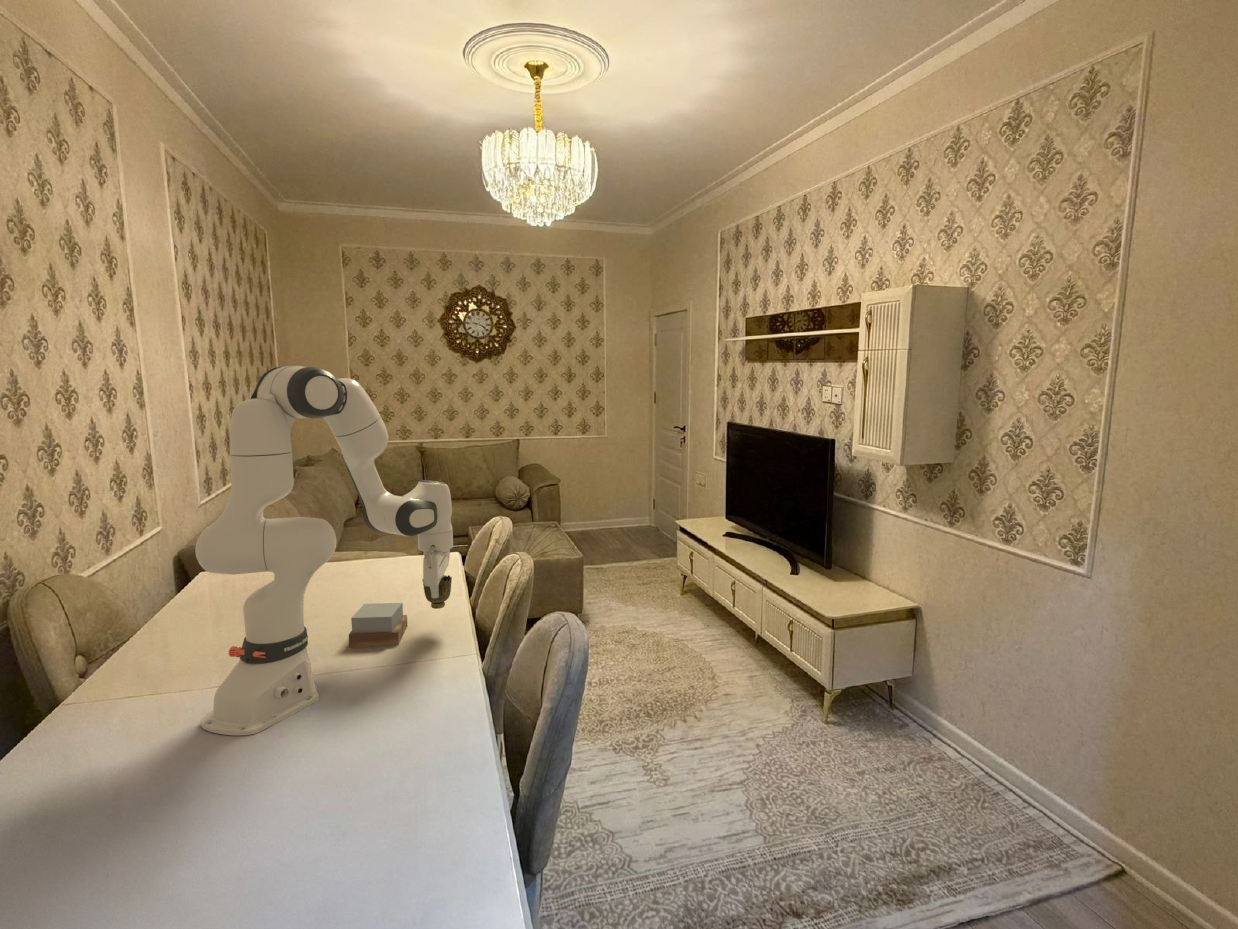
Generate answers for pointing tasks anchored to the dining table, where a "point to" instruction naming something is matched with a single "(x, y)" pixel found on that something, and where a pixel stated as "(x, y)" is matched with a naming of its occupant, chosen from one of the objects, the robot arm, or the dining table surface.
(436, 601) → the cup
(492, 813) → the dining table surface
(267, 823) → the dining table surface
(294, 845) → the dining table surface
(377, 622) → the tower top
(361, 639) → the tower base
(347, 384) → the robot arm
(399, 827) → the dining table surface
